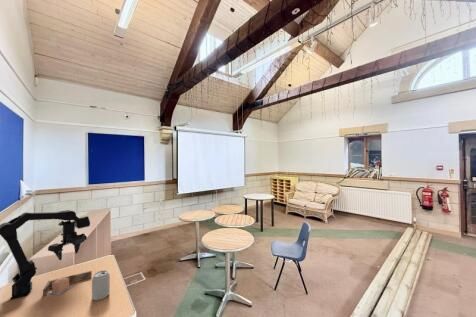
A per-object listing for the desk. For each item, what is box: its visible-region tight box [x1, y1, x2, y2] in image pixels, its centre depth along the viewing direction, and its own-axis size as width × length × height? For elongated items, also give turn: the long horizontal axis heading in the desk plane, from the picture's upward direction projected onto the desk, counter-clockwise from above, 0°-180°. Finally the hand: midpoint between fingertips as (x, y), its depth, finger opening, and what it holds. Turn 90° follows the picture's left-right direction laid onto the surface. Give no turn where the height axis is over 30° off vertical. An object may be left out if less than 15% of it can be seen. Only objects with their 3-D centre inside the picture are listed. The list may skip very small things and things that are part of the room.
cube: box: [51, 277, 70, 293], centre depth 108 cm, size 5×5×5 cm
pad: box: [48, 285, 73, 296], centre depth 108 cm, size 7×7×1 cm
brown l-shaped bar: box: [42, 270, 93, 297], centre depth 112 cm, size 20×9×4 cm, turn 122°
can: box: [91, 269, 111, 302], centre depth 102 cm, size 8×8×12 cm
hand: (68, 256), depth 121 cm, fingers open, 9 cm apart
